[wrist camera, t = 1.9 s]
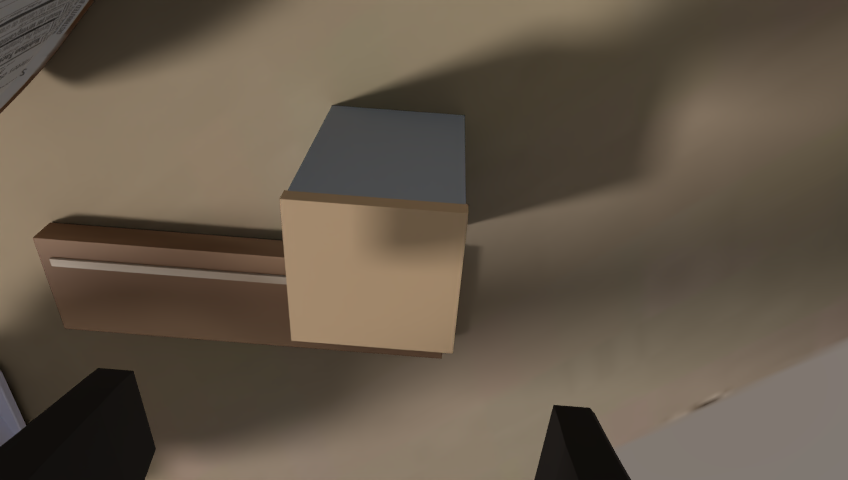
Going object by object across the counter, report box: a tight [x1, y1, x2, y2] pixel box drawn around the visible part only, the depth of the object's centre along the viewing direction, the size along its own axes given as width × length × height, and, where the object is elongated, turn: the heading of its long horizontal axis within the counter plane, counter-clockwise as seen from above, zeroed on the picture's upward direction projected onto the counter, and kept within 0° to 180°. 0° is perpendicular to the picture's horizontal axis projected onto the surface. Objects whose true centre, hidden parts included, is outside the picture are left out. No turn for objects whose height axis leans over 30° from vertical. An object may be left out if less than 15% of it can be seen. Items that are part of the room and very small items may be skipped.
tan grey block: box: [280, 105, 469, 353], centre depth 17 cm, size 4×4×6 cm
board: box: [33, 223, 442, 359], centre depth 21 cm, size 4×14×1 cm, turn 87°
